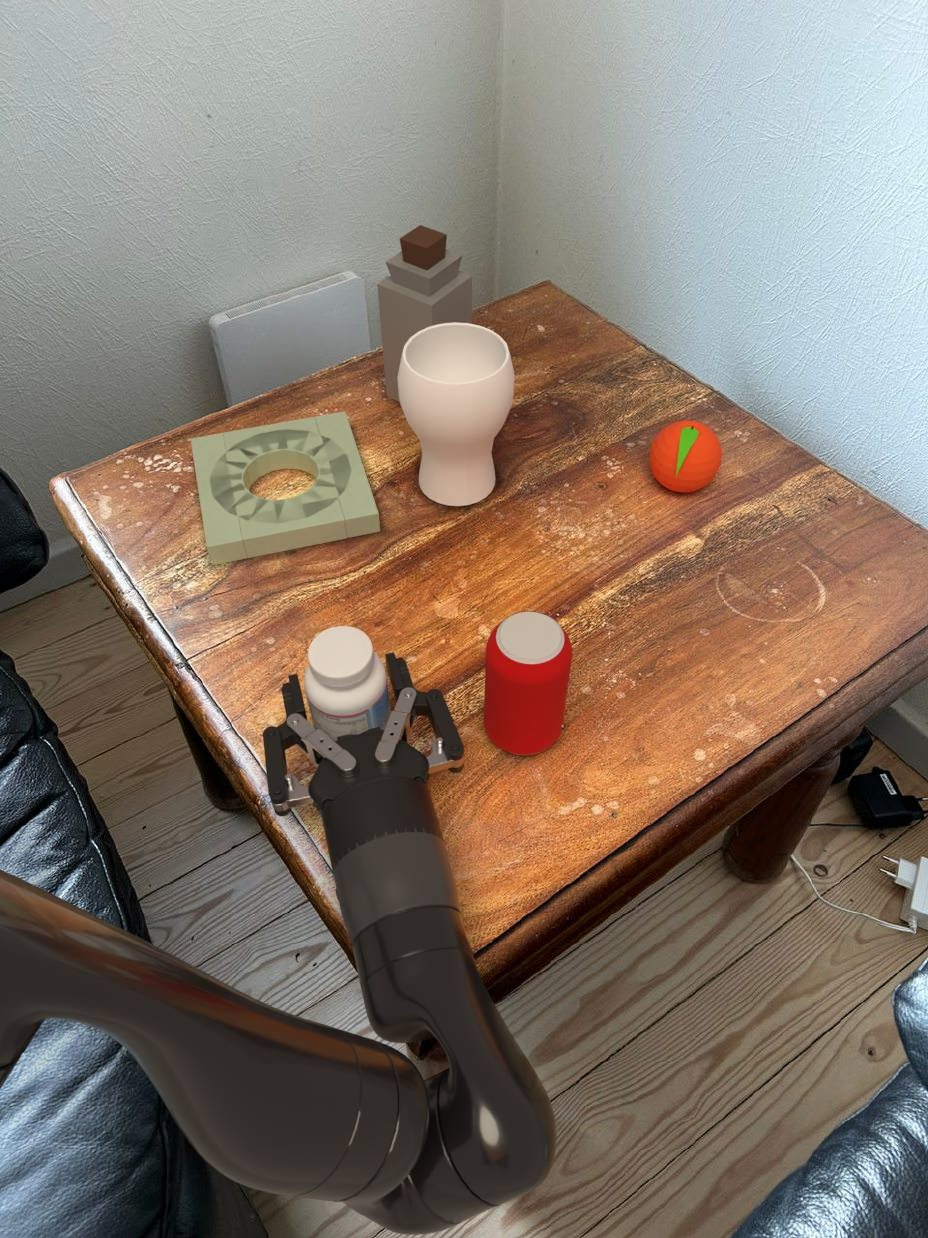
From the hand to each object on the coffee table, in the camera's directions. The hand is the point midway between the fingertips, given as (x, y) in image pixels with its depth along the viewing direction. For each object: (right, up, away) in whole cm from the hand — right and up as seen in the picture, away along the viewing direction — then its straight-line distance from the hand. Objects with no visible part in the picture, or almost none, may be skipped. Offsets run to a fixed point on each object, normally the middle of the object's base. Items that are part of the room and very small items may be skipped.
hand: (342, 670), depth 70 cm
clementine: (+31, +17, +22) cm, 42 cm away
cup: (+9, +18, +23) cm, 30 cm away
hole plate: (-9, +16, +22) cm, 28 cm away
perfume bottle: (+5, +29, +32) cm, 44 cm away
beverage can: (+14, -5, +4) cm, 15 cm away
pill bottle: (+1, -6, +3) cm, 7 cm away
